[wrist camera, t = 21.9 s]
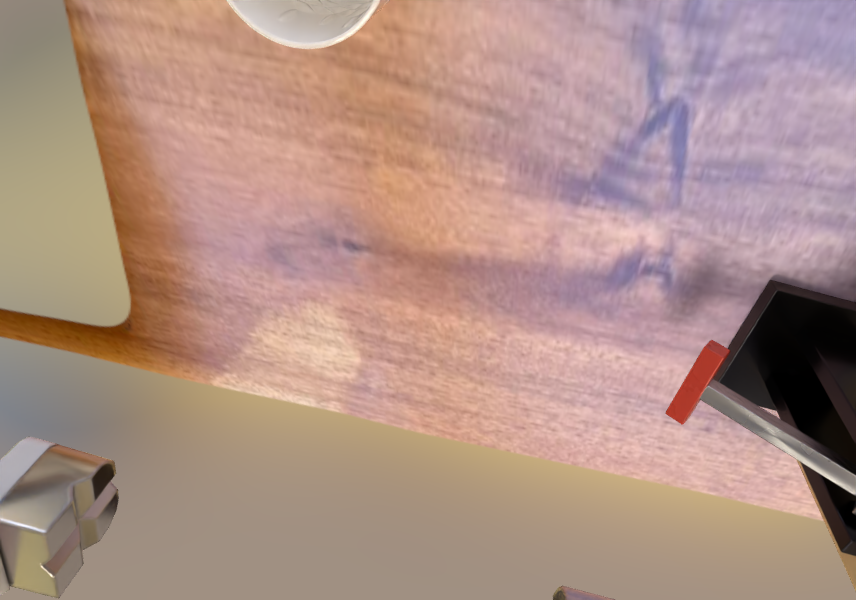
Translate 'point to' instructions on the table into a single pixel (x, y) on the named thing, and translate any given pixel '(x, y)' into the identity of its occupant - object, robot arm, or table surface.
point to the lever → (756, 419)
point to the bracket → (804, 380)
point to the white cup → (306, 19)
